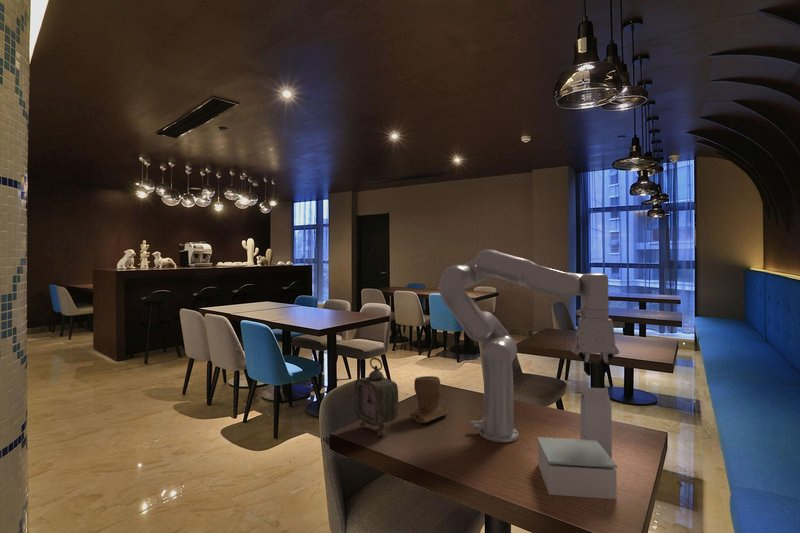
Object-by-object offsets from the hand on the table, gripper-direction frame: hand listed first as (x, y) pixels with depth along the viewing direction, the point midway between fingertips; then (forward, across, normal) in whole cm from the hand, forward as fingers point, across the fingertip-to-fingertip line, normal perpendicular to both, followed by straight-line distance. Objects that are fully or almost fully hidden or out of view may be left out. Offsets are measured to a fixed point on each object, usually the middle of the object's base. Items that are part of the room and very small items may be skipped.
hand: (595, 374), depth 126 cm
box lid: (+16, -11, -19) cm, 27 cm away
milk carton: (+23, 0, 0) cm, 23 cm away
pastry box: (+23, -11, -19) cm, 32 cm away
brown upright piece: (+23, -53, +21) cm, 62 cm away
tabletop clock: (+23, -69, +7) cm, 73 cm away
